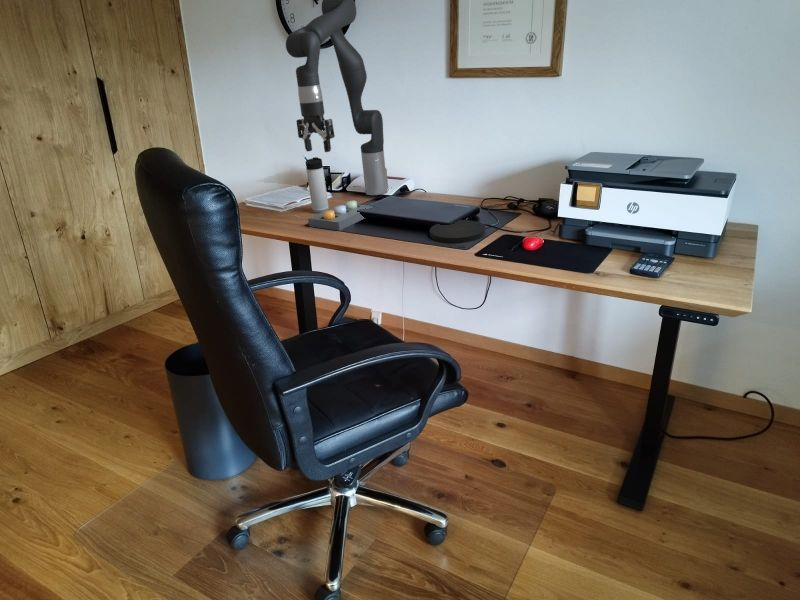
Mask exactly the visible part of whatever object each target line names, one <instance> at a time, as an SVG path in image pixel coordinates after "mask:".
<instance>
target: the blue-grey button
mask: <svg viewBox="0 0 800 600" xmlns="http://www.w3.org/2000/svg"><path fill="white" fill-rule="evenodd" d="M338 205H339V206H337V205H335V206H336V207H335V206H334V207H335V214H339V215H343V214H345V213H346V206H345V205H340V204H338Z"/></svg>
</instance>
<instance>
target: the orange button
mask: <svg viewBox="0 0 800 600" xmlns="http://www.w3.org/2000/svg"><path fill="white" fill-rule="evenodd" d="M323 217H324V219H325V220H332V219H334V218H335V213H334V211H333V210H328V211H324V212H323Z"/></svg>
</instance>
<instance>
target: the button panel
mask: <svg viewBox="0 0 800 600" xmlns="http://www.w3.org/2000/svg"><path fill="white" fill-rule="evenodd" d="M339 205H345V206H346V202H342V203H340V204H338V205H335V206H332V208H331V207H330V208H329V209H328V210H333V211H334V213H335V207H336V206H339ZM373 207H374V206H372V205H364V204H363V205H362V204H357V208H356V209H353V210H351V209H346V213H345V214H343V215H339V214H335V218H334V219H332V220H325V219H324V217H323V212H321V213H316V214H315V215H313V216H309V217H308V218H307V220H308V227H311V228H317V229H326V230H330V231H331V230H332V231H338V232H339V231H342V230H344V229H347V228H348V227H350V226H352V225H354V224H356V223H358V222H360V221H362V220H364V219H365V218H364V217H363V216H362V215H361V214H360V212H357V210H359V209H365V208H366V209H369V208H373ZM373 209H374V208H373ZM328 210H326V211H328Z"/></svg>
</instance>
